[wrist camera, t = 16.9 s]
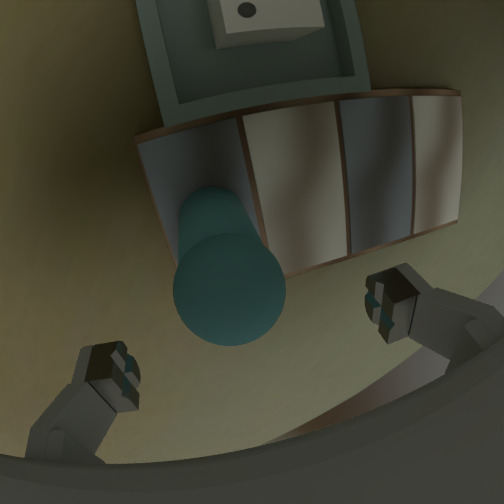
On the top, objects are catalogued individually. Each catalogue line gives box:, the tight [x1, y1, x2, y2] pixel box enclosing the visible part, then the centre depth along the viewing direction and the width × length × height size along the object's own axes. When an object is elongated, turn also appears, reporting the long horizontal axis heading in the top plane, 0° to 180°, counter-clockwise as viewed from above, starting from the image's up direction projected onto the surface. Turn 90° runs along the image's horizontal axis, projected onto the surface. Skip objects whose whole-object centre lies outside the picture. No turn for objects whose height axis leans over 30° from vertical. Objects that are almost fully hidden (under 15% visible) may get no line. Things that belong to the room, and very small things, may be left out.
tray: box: [135, 0, 371, 128], centre depth 13 cm, size 12×12×2 cm
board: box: [133, 88, 463, 278], centre depth 20 cm, size 24×12×1 cm, turn 101°
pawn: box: [173, 186, 286, 346], centre depth 14 cm, size 4×4×10 cm
